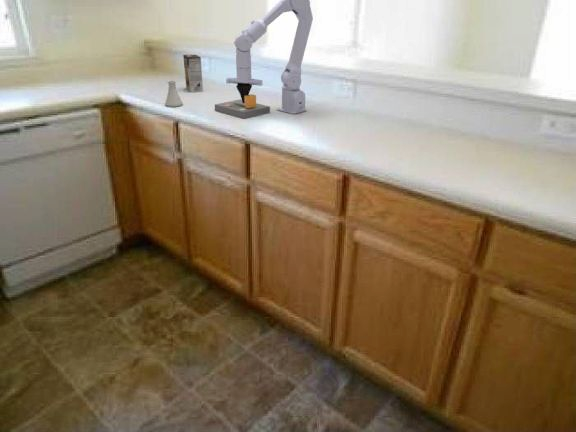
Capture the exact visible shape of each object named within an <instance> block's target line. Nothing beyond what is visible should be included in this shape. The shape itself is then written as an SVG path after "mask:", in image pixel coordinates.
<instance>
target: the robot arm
mask: <svg viewBox="0 0 576 432" xmlns="http://www.w3.org/2000/svg"><path fill="white" fill-rule="evenodd" d="M311 8H312V7H311V1H310V0H279V1H278V2H277V3H276V4H275V5H274V6H273V7H272V8H271V9H270V10H269V11H268V12H267V13H266V14H265V15H264V16H263V17H262V18H261V19H259V18H256V19H253V20H251V21H250V25H248V26H247V27H246V28H245V29H242V30H241V34H238V35H236V37H235V39H234V41H233V43H234V46H235V48H236V49H235V53H236V55H235V62H236V63H235V65H236V77H227V78H226V79H225V80H226V81H225V82H226V84H235V85H236V86H235V87H236V89H237V91H238V93H239V95H240V99H241V100H242V103H245V101H244V96H246V95H250V92H251V90H252V87H253V86H259V87H261V86H263V80H262V79H257V78H252V55H251V48H252V46H253V44H255V43H256V42H257V41H258V40H259V39H261V38H262V37H263V36H264V35H265V34H266V33H267V29H268V26H269V25H271V24H272V23H273V22H274V21H275V20H276V19H278V18H279V17H280V16H281V15H282V14H284V13H289V12H292V13H294V15H295V17H296V19H297V21H298V23H297V27H296V29H295V30H296V31H295V35H294V39H293V43H292V46H291V49H290V50H291V51H290V56H289V59H288V62H287V64H286V65H285V69H284V71H282V73H281V76H280V79H281V82H282V84H283V85H282V86H281V107H280V108H279V107H278V108H276V109H277V111H280V112H283V113H289V114H292V115H295V114H298V113H302V112H306V111H307V109H306V93H305V91H303V90H301V88H300V86H301V84H302V62H303V60H304V55H305V51H306V47H307V44H308V40H309V36H310V32H311V29H312V24H313V13H312V9H311Z"/></svg>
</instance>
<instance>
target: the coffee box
mask: <svg viewBox="0 0 576 432" xmlns="http://www.w3.org/2000/svg"><path fill="white" fill-rule="evenodd" d="M182 56H183V66H184V75H185V76H184V78H185V79H184V80H185V88H186V90H187V91H189V93H199V92H201V93H202V92H203V91H204V88H203V85H204V84H203V73H202V71H203V69H202V57H201V56H199V55H197V54H183V55H182Z"/></svg>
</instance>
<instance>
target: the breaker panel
mask: <svg viewBox="0 0 576 432" xmlns="http://www.w3.org/2000/svg"><path fill="white" fill-rule="evenodd" d="M214 111H216V112H218V113H222V114H225V115H230V116H232V117H236V118H239V119H243V120H245V119H249V118H253V117H258V116H262V115H266V114H269V113H271V106H270V105H265V104H261V103H258V102H256V107H252V108H246V107H245V103H242V99H241V98H240V99H236V100H231V101H226V102H220V103H215V104H214Z"/></svg>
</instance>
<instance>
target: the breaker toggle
mask: <svg viewBox="0 0 576 432" xmlns="http://www.w3.org/2000/svg"><path fill="white" fill-rule="evenodd" d="M244 101H245V107H246V108H252V107H256V103H257V95H256V94H252V93H251V94H249V95H246V96H244Z"/></svg>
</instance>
